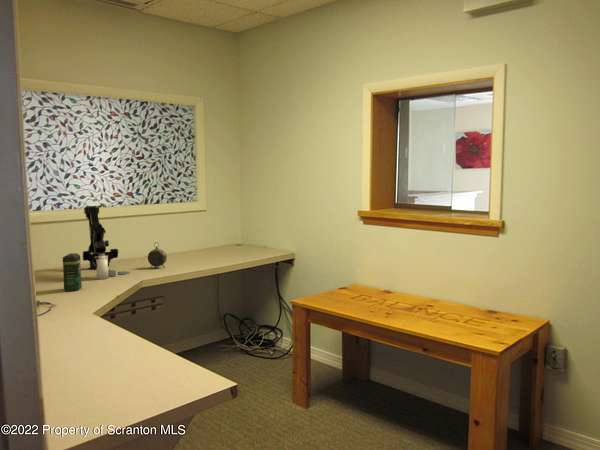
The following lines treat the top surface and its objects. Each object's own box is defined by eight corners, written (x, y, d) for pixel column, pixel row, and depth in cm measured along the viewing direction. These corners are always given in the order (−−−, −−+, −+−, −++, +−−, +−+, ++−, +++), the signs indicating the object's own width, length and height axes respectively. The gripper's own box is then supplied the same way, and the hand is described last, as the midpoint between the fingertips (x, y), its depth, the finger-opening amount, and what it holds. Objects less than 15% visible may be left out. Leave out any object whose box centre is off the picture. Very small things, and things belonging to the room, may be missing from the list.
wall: (102, 274, 300) (102, 269, 300) (104, 274, 301) (103, 268, 301) (116, 276, 295) (115, 270, 295) (117, 276, 296) (117, 270, 296)
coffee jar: (79, 291, 260) (76, 255, 258) (62, 292, 259) (60, 255, 257) (83, 287, 269) (81, 252, 267) (67, 287, 268) (65, 252, 266)
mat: (110, 274, 302) (110, 273, 302) (122, 271, 310) (122, 270, 310) (121, 275, 298) (121, 274, 298) (133, 272, 306) (133, 272, 306)
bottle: (94, 278, 289) (93, 254, 288) (103, 276, 295) (102, 252, 293) (102, 279, 287) (101, 255, 285) (110, 277, 292) (109, 253, 290)
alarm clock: (167, 267, 323) (166, 241, 321) (164, 268, 317) (163, 242, 315) (150, 267, 324) (149, 241, 322) (147, 268, 318) (145, 242, 317)
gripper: (82, 237, 287) (85, 259, 279) (117, 234, 296) (121, 256, 287) (81, 249, 295) (84, 271, 286) (115, 246, 304) (119, 268, 295)
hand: (102, 266), depth 289 cm, fingers closed on bottle, 6 cm apart
